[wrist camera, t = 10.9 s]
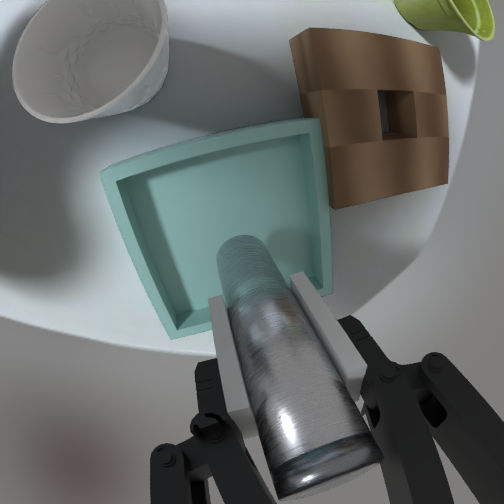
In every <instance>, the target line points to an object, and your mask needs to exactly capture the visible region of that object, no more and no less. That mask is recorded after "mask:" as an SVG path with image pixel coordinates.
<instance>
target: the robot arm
mask: <svg viewBox="0 0 504 504" xmlns="http://www.w3.org/2000/svg"><path fill="white" fill-rule="evenodd" d="M289 277H290V285H291V291H292V293H293V294H294V296H295V298H296V300H297V301H298V303H299V305H300V307H301V308H302V310H303V312H304V313H305V315H306V317H307V319H308V320H309V322H310V324H311V326H312V327H313V329H314V331H315V333H316V334H317V336H318V338H319V340H320V341H321V343H322V345H323V347H324V349H325V350H326V352H327V354H328V356H329V357H330V359H331V361H332V363H333V364H334V366H335V368H336V370H337V372H338V373H339V375H340V377H341V379H342V381H343V382H344V384H345V386H346V388H347V390H348V391H349V393H350V395H351V397H352V399H353V400H354V402H356V401H358V400H359V397H360V395H361V396H362V398H363V400H364V405H363V408H362V411H361V415H362V416H363V415H364V414H366V417H367V420H368V423H369V426H370V430H371V433H372V435H373V437H374V439H375V441H376V442H377V444H378V446H379V448H380V450H381V452H382V454H383V455H384V459H383V461H382V462H380V465H381V469H382V472H383V476H384V480H385V484H386V488H387V492H388V496H389V501H390V504H454V501H453V498H452V494H451V491H450V487H449V484H448V481H447V478H446V475H445V471H444V468H443V465H442V463H441V460H440V457H439V454H438V451H437V448H436V446H435V443H434V440H433V438H434V439H435V440H436V442H437V443H438V444H439V446H440V447H441V449H442V450H443V451H444V453H445V454H446V456H447V457H448V458H449V459H450V461H451V463H452V464H453V465H454V467H455V468H456V470H457V471H458V472H459V474H460V475H461V477H462V478H463V480H464V481H465V483H466V484H467V486H468V487H469V488H470V490H471V491H472V493H473V494H474V495H475V497H476V498H477V500H478V502H479V503H480V504H504V422H503V421H502V420H501V418H500V417H499V416H498V415H497V413H496V412H495V411H494V410H493V409H492V408H491V406H490V405H489V404H488V403H487V402H486V400H485V399H484V398H483V397H482V396H481V395H480V394H479V392H477V390H476V389H475V388H474V387H473V386H472V384H471V383H470V382H469V381H468V380H467V379H466V378H465V377H464V376H463V375H462V373H460V371H459V370H458V369H457V368H456V367H455V366H454V365H453V364H452V363H451V362H450V361H449V360H448V359H447V357H445V356H444V355H443V354H441V353H438V352H431V353H429V354H427V355H425V357H424V358H423V359H422V361H421V362H418V363H413V364H408V365H399V364H397V363H396V362H392V361H390V360H389V359H388V358H387V357H386V356H385V354H384V353H383V351H382V350H381V349H380V347H379V346H378V345H377V343H376V342H375V340H374V339H373V338H372V337H371V336H370V334H369V333H368V331H367V330H366V329H365V327H364V326H363V325H362V323H361V322H360V321H359V320H358V319H356V318H354V317H353V316H351V315H349V316H347V317H344V318H342V319H339V320H337V319H336V318H335V316H334V315H333V314H332V312H331V311H330V309H329V308H328V306H327V305H326V303H325V302H324V300H323V299H322V298H321V296H320V295H319V293H318V292H317V290H316V289H315V288H314V286H313V285H312V283H311V282H310V280H309V279H308V278H307V276H306V275H305V273H304V272H303V271H302V272H299V273H295V274H292V275H289ZM208 304H209V311H210V317H211V324H212V330H213V336H214V342H215V348H216V354H217V358H215V359H211V360H207V361H203V362H199V363H198V364H197V367H196V370H195V382H196V391H197V400H198V409H199V413H198V414H197V415H196V416H195V417H194V418H193V419H192V421H191V424H190V431H191V433H192V434H193V435H194V436H193V437H191V438H190V439H188V440H186V441H184V442H182V443H180V444H178V445H173V444H168V443H165V444H161V445H159V446H157V447H156V448H155V449H154V450H153V452H152V453H151V458H150V495H151V504H211V503H210V495H209V487H208V480H207V479H208V478H209V477H211V476H213V478H214V480H215V483H216V485H217V487H218V489H219V492H220V494H221V496H222V498H223V501H224V503H225V504H277V503H276V501H275V500H274V498H273V496H272V495H271V493H270V491H269V489H268V487H267V486H266V484H265V482H264V480H263V479H262V477H261V475H260V473H259V471H258V469H257V467H256V465H255V464H254V461H253V460H252V458H251V456H250V454H249V452H248V450H247V448H246V447H245V444H244V440H243V438H244V439H246V438H250V437H255V436H259V434H258V431H257V427H256V423H255V418H254V414H253V410H252V407H251V403H250V399H249V396H248V392H247V388H246V384H245V381H244V377H243V373H242V369H241V365H240V361H239V357H238V353H237V349H236V345H235V341H234V337H233V333H232V329H231V325H230V320H229V316H228V312H227V308H226V305H225V302H224V299H223V296H222V295H218V296H215V297H211V298H208ZM432 436H433V438H432Z"/></svg>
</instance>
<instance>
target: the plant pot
mask: <svg viewBox="0 0 504 504" xmlns="http://www.w3.org/2000/svg"><path fill="white" fill-rule="evenodd" d="M394 3H395V5H396V7H397V9H398V11H399V12H400V14H401V15H402V16H403V17H404V19H405V20H406V21H408V22H409V23H411V24H413V25H414V26H415V27H416V28H418V29H422V30H445V31H455V32H464V33H467V34H469V35H472V36H476V37H477V38H478V39H480V40H483V41H490V40H491V39H492V38H493V37H494V33H495V22H494V17H493V13H492V10H491V7H490V4H489V2H488V0H394Z"/></svg>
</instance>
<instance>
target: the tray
mask: <svg viewBox="0 0 504 504" xmlns="http://www.w3.org/2000/svg"><path fill="white" fill-rule="evenodd" d="M99 174H100V177H101V180H102V183H103V187H104V190H105V192H106V195H107V198H108V201H109V204H110V207H111V210H112V212H113V215H114V218H115V220H116V223H117V226H118V228H119V231H120V233H121V236H122V238H123V241H124V243H125V246H126V248H127V250H128V253H129V255H130V257H131V260H132V262H133V264H134V267H135V269H136V271H137V273H138V276H139V278H140V280H141V282H142V284H143V286H144V289H145V291H146V293H147V295H148V297H149V299H150V301H151V303H152V305H153V307H154V309H155V311H156V313H157V315H158V317H159V319H160V321H161V323H162V325H163V326H164V328H165V330H166V332H167V334H168V336H169V338H170V339H171V340H173V339H177V338H181V337H185V336H189V335H193V334H197V333H201V332H205V331H209V330H212V324H211V317H210V311H209V304H208V298H211V297H215V296H218V295H222V296H223V292H222V287H221V283H220V278H219V273H218V269H217V264H216V256H217V253H218V250H219V249H220V247H221V246H222V245H223V244H224V243H225V242H226V241H227V240H229V239H230V238H232V237H235V236H238V235H251V236H254V237H256V238H258V239H259V240H261V241H262V242H263V243H264V245H265V246H266V248H267V250H268V252H269V253H270V255H271V257H272V258H273V260H274V262H275V263H276V265H277V267H278V269H279V270H280V272H281V274H282V275H283V277H284V279H285V281H286V282H287V284H288V286H289V287H290V289H291V285H290V277H289V275H292V274H295V273H299V272H302V271H303V272H304V273H305V275H306V276H307V278H308V279H309V280H310V282H311V283H312V285H313V286H314V288H315V289H316V290H317V292H318V293H319V295H320V296H321V297H323V296H326V295H329V294H332V293H333V277H332V244H331V225H330V209H329V196H328V184H327V174H326V164H325V155H324V146H323V138H322V131H321V123H320V118H296V119H289V120H282V121H276V122H270V123H264V124H258V125H253V126H248V127H242V128H238V129H233V130H228V131H224V132H219V133H215V134H211V135H207V136H203V137H199V138H195V139H191V140H187V141H183V142H180V143H176V144H173V145H169V146H166V147H163V148H159V149H156V150H153V151H150V152H147V153H144V154H141V155H138V156H135V157H132V158H129V159H126V160H123V161H121V162H118V163H115V164H112V165H110V166H108V167H107V168H105V169H104V170H102V171H101V172H99ZM223 299H224V296H223ZM224 302H225V301H224Z"/></svg>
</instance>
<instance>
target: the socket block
mask: <svg viewBox="0 0 504 504" xmlns="http://www.w3.org/2000/svg"><path fill="white" fill-rule="evenodd" d="M289 42H290V47H291V51H292V56H293V61H294V66H295V71H296V76H297V81H298V87H299V92H300V98H301V104H302V110H303V116H304V118H320V123H321V131H322V138H323V146H324V155H325V164H326V174H327V184H328V196H329V206H330V207H332V208H333V209H335V210H336V209H340V208H345V207H349V206H353V205H357V204H361V203H365V202H369V201H373V200H378V199H382V198H386V197H390V196H395V195H399V194H403V193H407V192H412V191H416V190H421V189H425V188H429V187H434V186H438V185H443V184H448V168H449V130H448V111H447V99H446V89H445V81H444V74H443V67H442V61H441V56H440V51H439V48H437V47H434V46H430V45H427V44H423V43H419V42H415V41H411V40H407V39H402V38H397V37H392V36H387V35H381V34H375V33H368V32H361V31H352V30H342V29H329V28H308V29H306V30H304V31H303V32H301V33H300V34H298V35H297V36H295V37H293V38H292V39H290V40H289ZM377 91H385V92H386V100H387V109H388V119H389V131H390V132H384V133H382V129H381V118H380V109H379V100H378V93H377Z"/></svg>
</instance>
